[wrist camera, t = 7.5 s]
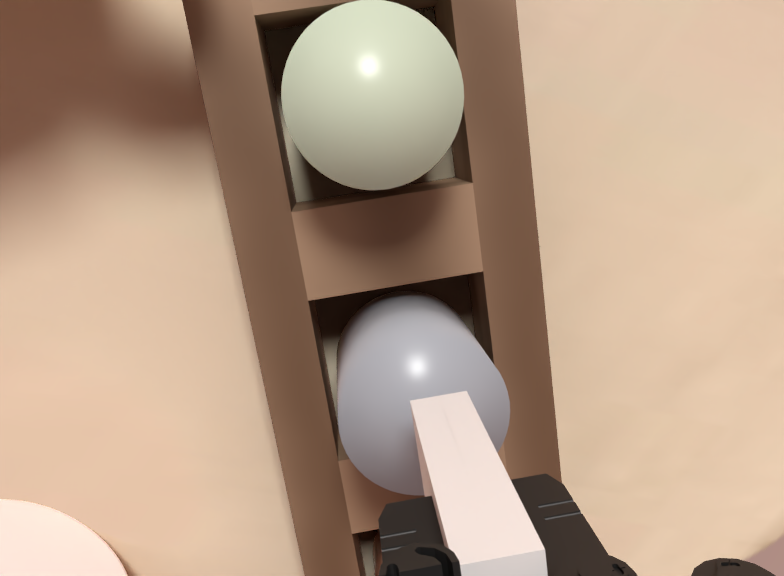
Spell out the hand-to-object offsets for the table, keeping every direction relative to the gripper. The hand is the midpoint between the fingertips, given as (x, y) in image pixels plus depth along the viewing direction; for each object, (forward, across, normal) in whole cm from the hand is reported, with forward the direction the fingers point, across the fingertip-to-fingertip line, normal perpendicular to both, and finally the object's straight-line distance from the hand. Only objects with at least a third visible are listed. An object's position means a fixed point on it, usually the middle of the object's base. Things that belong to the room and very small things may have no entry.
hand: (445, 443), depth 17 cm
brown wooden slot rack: (+9, 0, 0) cm, 9 cm away
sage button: (+8, 0, +9) cm, 12 cm away
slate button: (+7, 0, 0) cm, 7 cm away
